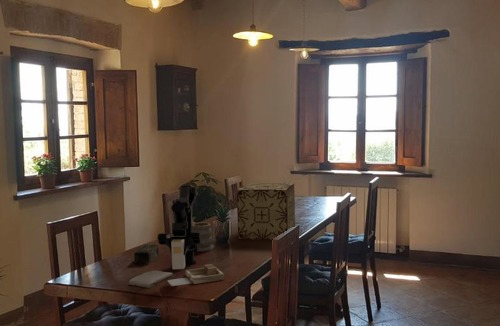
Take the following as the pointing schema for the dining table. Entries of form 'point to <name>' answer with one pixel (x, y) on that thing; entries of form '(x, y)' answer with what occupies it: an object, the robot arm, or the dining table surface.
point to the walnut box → (210, 270)
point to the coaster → (179, 281)
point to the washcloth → (150, 278)
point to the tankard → (203, 236)
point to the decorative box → (265, 210)
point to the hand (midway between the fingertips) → (177, 255)
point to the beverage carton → (146, 254)
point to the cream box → (178, 254)
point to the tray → (203, 276)
